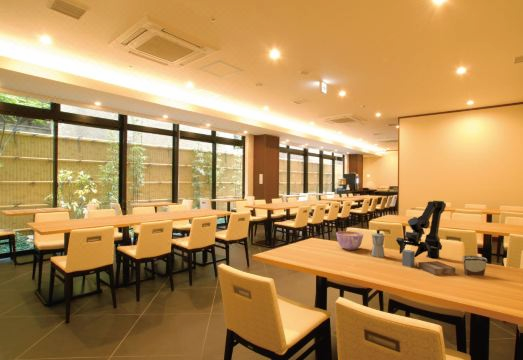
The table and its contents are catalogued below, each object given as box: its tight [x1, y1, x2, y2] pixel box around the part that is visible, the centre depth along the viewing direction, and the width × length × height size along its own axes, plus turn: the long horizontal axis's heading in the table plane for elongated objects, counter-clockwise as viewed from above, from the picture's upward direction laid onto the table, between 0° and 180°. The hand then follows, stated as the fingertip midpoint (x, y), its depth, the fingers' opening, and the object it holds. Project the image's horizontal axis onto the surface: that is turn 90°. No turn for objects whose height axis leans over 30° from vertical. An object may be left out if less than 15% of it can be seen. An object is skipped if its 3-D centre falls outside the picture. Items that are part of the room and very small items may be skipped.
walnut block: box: [417, 260, 456, 276], centre depth 168 cm, size 13×13×4 cm
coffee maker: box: [371, 229, 386, 258], centre depth 201 cm, size 15×9×18 cm, turn 137°
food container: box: [461, 254, 488, 277], centre depth 163 cm, size 12×6×10 cm, turn 84°
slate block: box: [401, 249, 416, 268], centre depth 178 cm, size 5×5×9 cm
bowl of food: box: [335, 230, 364, 251], centre depth 220 cm, size 20×20×12 cm
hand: (407, 255), depth 177 cm, fingers open, 9 cm apart
